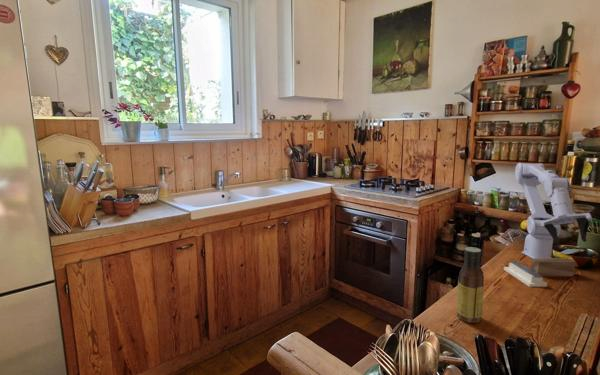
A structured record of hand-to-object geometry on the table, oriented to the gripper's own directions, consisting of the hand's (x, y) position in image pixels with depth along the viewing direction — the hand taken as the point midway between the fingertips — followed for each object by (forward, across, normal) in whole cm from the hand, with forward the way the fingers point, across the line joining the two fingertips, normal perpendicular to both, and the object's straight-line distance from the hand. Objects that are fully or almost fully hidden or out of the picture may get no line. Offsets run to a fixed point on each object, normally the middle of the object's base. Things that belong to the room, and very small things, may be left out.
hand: (570, 242), depth 118 cm
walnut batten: (+8, -9, +6) cm, 14 cm away
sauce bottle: (+33, -18, -40) cm, 55 cm away
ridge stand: (+12, -14, -4) cm, 19 cm away
